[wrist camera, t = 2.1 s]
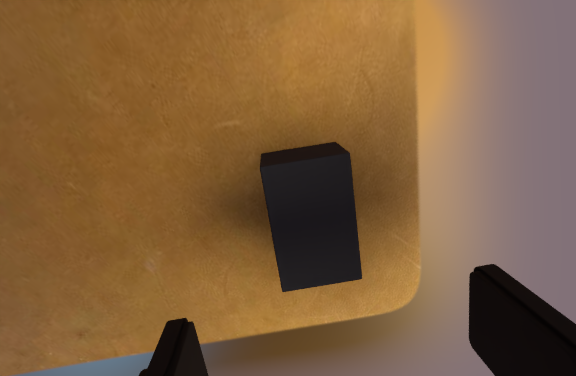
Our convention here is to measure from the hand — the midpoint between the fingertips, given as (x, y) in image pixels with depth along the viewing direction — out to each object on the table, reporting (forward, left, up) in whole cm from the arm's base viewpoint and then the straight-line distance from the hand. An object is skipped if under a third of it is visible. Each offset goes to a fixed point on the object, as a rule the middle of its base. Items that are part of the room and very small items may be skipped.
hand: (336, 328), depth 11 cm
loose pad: (0, 0, -13) cm, 13 cm away
